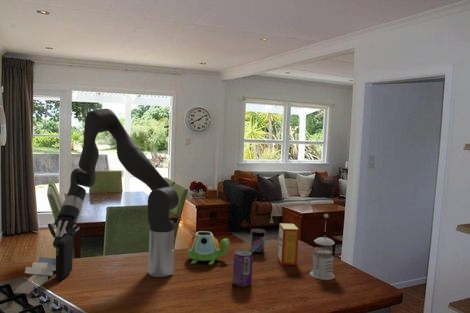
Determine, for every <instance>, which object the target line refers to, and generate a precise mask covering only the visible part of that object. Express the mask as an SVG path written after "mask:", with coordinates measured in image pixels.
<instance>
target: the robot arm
mask: <svg viewBox="0 0 470 313" xmlns="http://www.w3.org/2000/svg"><path fill="white" fill-rule="evenodd" d="M84 119H85V121H84V127H83V144H82V150H81V154H80V158H79V161H78V168H74V169H73V170H72V171H71V173H70V180H69V182H70V183H69V184H70V185H69V189H68V192H67V194H66V196H65V199H64V200H63V202H62V205H61V207H60V210H59V212H58V214H57V217H56V219H55V220H54V222H53V223H48V224H47V228H48V230H49V232H50V234H51V237H53V242H52V245H53V248H55V249H56V244H57V242H58V241H60V240H61V239H62V238H64V237H65V236H67V235H70V236H71V237H73V236H74V235H75V234H77V233H78V232H80V230H81V228H80V226H79V225H78V224H77V221H78V218H79V216H80V213H81V211H82V208H83V203H84V201H85V198H86V195H87V190H86V189H85V188H92V187H93V186H94V185H95V183H96V180H97V175H96V166H97V164H98V160H99V156H100V155H99V154H100V152H99V149H98V145H97V144H96V139H97V136H98V135H99V134H100V133H104V132H108V133H109V134H110V135H111V137H113V139H114V140H115V143H116V144H115V145H116V156H117V159H118V161H119V163H120V164H121V165H122V166H123V167H124V169H125V171H127V173H129V174H130V175H131V176H133V177H134V178H136V179H137V180H139V181H141V182H142V183H144V184H145V185H146V186H147V187H148V188H149V189H150V191H151V192H150V193H149V194H148V197H147V222H148V224H149V238H148V239H149V241H148V244H149V246H148V269H147V270H148V272H147V273H148V275H149V276H151V277H155V278H164V277H168V276H173V275H174V260H175V259H174V258H175V257H174V256H175V252H174V251H175V250H174V245H175V244H174V240H175V239H174V238H175V222H174V221H173V220H171V219H170V211H171V210H172V211H173V209H175V208H177V207H178V206H179V203H180V196H179V194H178V192H177V190H176V189H175V188H174V187H173V186H172V185H171V184H170V183H169V182H168V181H167V180H166V179H165V178H164V177H163V175H161V174H160V172H159V171H158V170H157V169H156V167H155V166H154V165H153V164H152V162H151V161H150V160H149V159H148V157H147V155H146V154H144V151H142V150H141V148H140V147H139V146H138V145H137V143H136V142H135V141H134V140H133V138H132V137H131V136H130V134H129V133H128V131H127V130H126V129H125V127H124V126H123V124H122V122H121V121H120V119H119V118H118V116H117V115H116V114H115V112H114V110H111V109H110V108H101V109H100V108H99V109H95V110H91V111H90V110H89V111H88V112H87V114H86V116H85V118H84ZM84 187H85V188H84ZM55 229H56V231H55Z"/></svg>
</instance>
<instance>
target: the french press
mask: <svg viewBox="0 0 470 313" xmlns="http://www.w3.org/2000/svg"><path fill="white" fill-rule="evenodd" d="M323 217H324V218H329V217H330V216H329V214H328V213H325V214H324V215H323ZM326 226H327V222H325V225H324V231H327V230H326ZM313 242H314V243H315V244H316V245H320V246H323V247H325V246H326V247H328V246H329V247H330V246H334V245H335V243H336V242H335V241H334V240H333V239H331V238H329V237H327V236H323V237H317V238H316V239H314V240H313ZM333 254H334V252H333V251H332V250H331V249H330V250H329V249H327V248H322V247H319V248H318V246H316V247H314V250H313V253H312V262H313V263H312V270H311V271H310V272H309V275H310V276H311V277H313V278H315V279H318V280H324V281H329V280H333V279H335V275H334V273H333V267H334V266H333V265H334V255H333Z"/></svg>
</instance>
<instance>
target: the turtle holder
mask: <svg viewBox="0 0 470 313" xmlns="http://www.w3.org/2000/svg"><path fill="white" fill-rule="evenodd" d="M220 244H221V248H220V245H219V242H218V239H217V238H216V236H215V235H214V234H213V233H212V232H211V231H205V230H203V231H202V230H200V231H197V232H195V234H194V235H193V236H192V237H191V238H190V241H189V243H188V246H187V256H188V258H190V259H192V260H191V262H190V264H192V265H195V264H197V263H198V262H199V261H201V262H204V261H205V262H207V261H209V262H208V265H214V264H215V262H216V260H217V259H219V258H220V257H222V256H225V254H227V253H226V252H227V250H228V247H229V246H230V239H229V238H223V239H222V240H221V241H220Z"/></svg>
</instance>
